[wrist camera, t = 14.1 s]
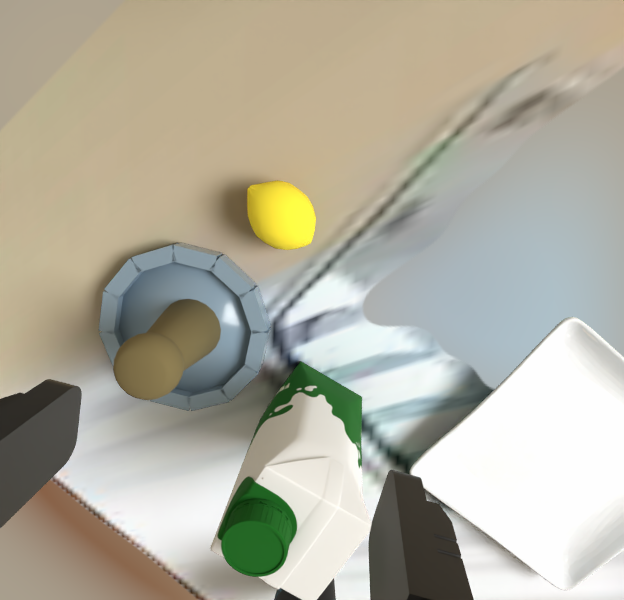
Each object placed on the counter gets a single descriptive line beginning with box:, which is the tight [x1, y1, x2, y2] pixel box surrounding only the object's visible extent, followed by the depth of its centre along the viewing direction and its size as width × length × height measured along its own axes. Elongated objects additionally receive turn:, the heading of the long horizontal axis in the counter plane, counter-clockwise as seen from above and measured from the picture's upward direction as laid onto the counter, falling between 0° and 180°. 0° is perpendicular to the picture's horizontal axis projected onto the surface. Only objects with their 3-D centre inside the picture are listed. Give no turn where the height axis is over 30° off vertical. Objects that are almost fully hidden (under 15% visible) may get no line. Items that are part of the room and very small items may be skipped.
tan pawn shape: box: [113, 299, 221, 400], centre depth 39 cm, size 6×6×11 cm
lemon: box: [247, 181, 316, 250], centre depth 39 cm, size 7×5×5 cm
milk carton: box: [211, 361, 372, 600], centre depth 37 cm, size 9×9×20 cm
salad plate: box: [410, 317, 624, 590], centre depth 44 cm, size 21×21×3 cm
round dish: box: [99, 243, 271, 411], centre depth 45 cm, size 16×16×2 cm
